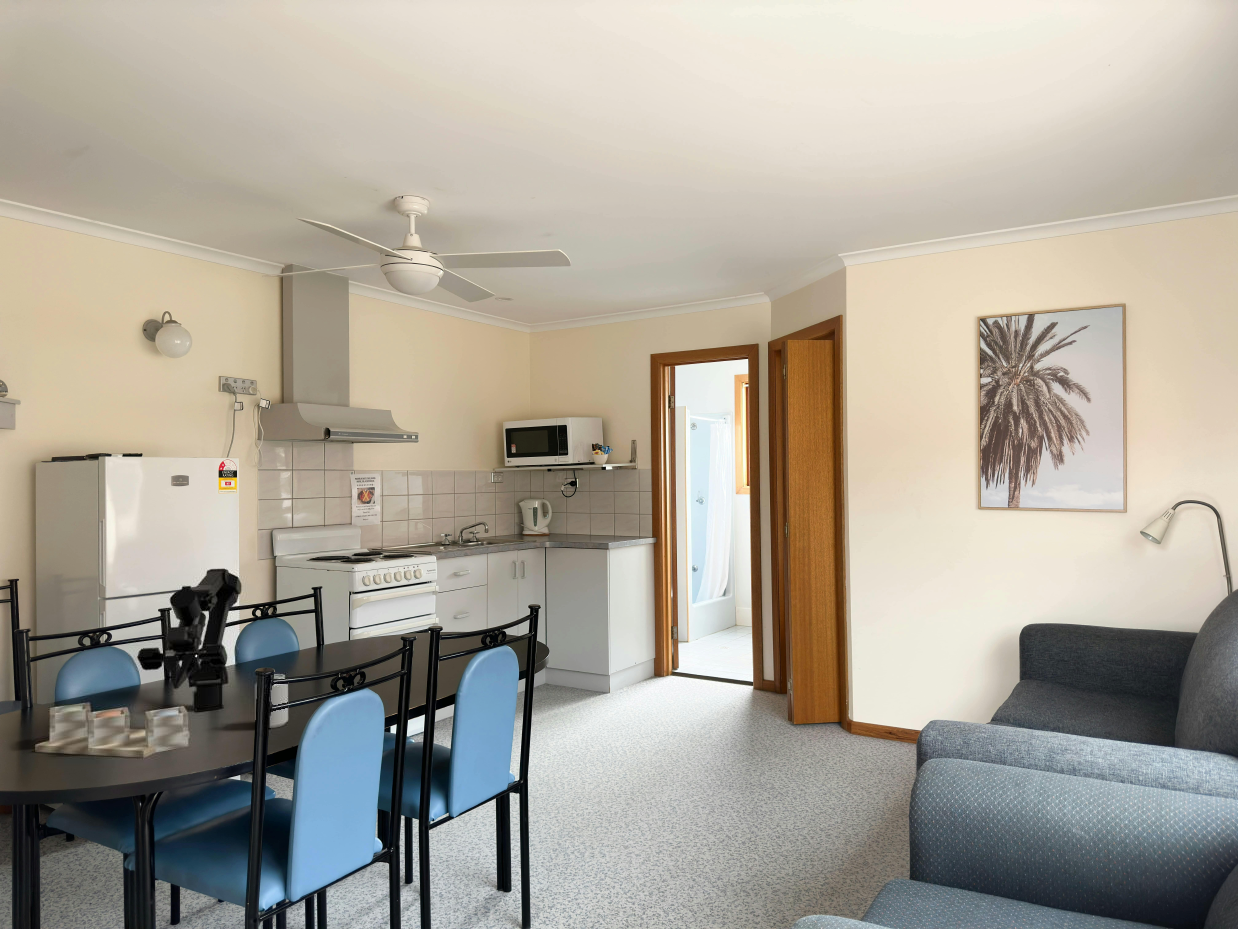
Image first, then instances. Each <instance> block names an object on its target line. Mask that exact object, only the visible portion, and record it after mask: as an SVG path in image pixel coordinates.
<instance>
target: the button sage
mask: <svg viewBox="0 0 1238 929" xmlns="http://www.w3.org/2000/svg"><path fill="white" fill-rule="evenodd" d="M76 710H83V707H82V706H70V707H64V708H61V709H59V710H58V713H62V712H69V711H76Z"/></svg>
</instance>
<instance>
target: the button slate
mask: <svg viewBox="0 0 1238 929" xmlns="http://www.w3.org/2000/svg"><path fill="white" fill-rule="evenodd" d="M173 714H179V711H178V710H164V711H159V712H156V713H155V714H154V717H160V716H167V715H173Z"/></svg>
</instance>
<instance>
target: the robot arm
mask: <svg viewBox="0 0 1238 929" xmlns="http://www.w3.org/2000/svg"><path fill="white" fill-rule="evenodd" d="M205 574H206V575H205V576H204V577H203V578H202V579H201V581H200V582H199V583H198V584H197V585H196V586H191V585H182V587H181V589H180V590H177V591H175V592H174V593H173V594H172V595H171V596H170V598H169V604H170V605H171V609H172V610H173V613H174V615H175V618H176V620H179V623H178V625H177V626H174V627H168V628H167V630H166V631H167V632H166V637H165V638H166V639H165V641H166V642H167V643H168V649H169V650H165V652H162V653H161V651H160V648H159V647H143V648H141V649H140V650H139V651H138V653H137V657H136V658H137V660H138V662H139V664H140V666H141V668H142V670H144V671H154V670H155V671H156V670H159V669H160V668H161V667H162V666H163V663H164V665H165V667H166V669H167V671H168V672H170V673H171V680H172V687H173V689H175V690H178V689H179V688H180V687H181V686H182V685H183V683H184V682H186V680H187V681H188V687H189V688H193V687H194V690H193V691H192V708H193V710H195V711H196V712H197V713H198V712H205V711H212V710H217V709H223V708H225V706H224V702H223V701H224V700H223V686H224V685H227V684H229V683H230V682H229V672H228V669H227V666H226V665H227V662H228V654H227V650H226V647H225V646H224V645H223V640H224V634H225V631H226V626H227V620H228V616H229V611H230V609H231V608H232V607H233V606H234V605H235V604H236V603H237V602H238V599H239V596H240V595H241V593H242V582H241V580H240V578H239V577H238V576H237V575H235V574H233V573H230V572H229V570H228V569H226V568H211V569H208V570H206V573H205ZM205 612H209V615H208V619H207V616H206V613H205ZM206 621H207V623H206ZM205 627H206V629H205V632H204V628H205ZM203 632H204V636H203ZM202 636H203V637H202ZM202 638H203V641H202ZM200 646H201V647H200ZM180 663H181V664H180Z"/></svg>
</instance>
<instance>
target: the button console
mask: <svg viewBox="0 0 1238 929" xmlns="http://www.w3.org/2000/svg"><path fill="white" fill-rule="evenodd" d="M70 706H82V707H83V710H76V711H69V712H62V713H58V710H59V709H61V708H64V707H70ZM164 710H178V711H179V714H173V715H167V716H160V717H154V714H155V713H156V712H159V711H164ZM107 711H121V715H116V716H109V717H102V718H96V715H97V714H99V713H102V712H107ZM130 715H131V713H130V712H129V709H128V706H127V707H119V708H111V709H105V710H104V709H103V710H99V711H92V709H91V702H83V703H77V704H68V705H61V706H55V707H54V706H53V707H50V708H49V739H48V740H46V741H44V742H40V743H37V744H35V747H34V751H35V753H49V754H69V755H89V756H103V757H104V756H108V757H123V758H124V757H127V758H140V759H141V758H142V759H143V758H146V757H149V756H151V755H153V754H155V753H161V752H165V751H170V750H176V749H183V748H188V747H189V739H190V732H191V731H189V713H188V710H187V709H186V708H185V705H184V706H183V705H181V706H176V707H169V708H162V709H156V710H147V711H145V712H144V716H145V717H144V718H145V719H144V721H145V724H144V726H145V728H144V729H142V728H141V729H139V728H130V726H131V724H130V723H131V722H130V721H131V716H130Z"/></svg>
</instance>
